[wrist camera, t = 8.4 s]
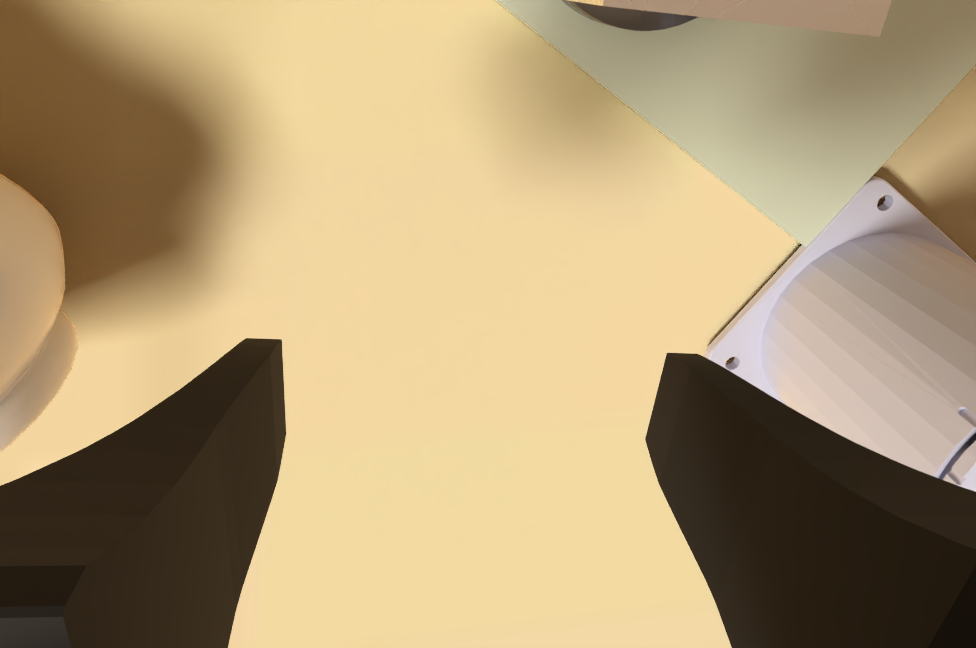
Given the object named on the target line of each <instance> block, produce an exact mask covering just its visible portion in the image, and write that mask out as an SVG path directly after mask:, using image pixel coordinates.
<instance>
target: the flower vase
mask: <svg viewBox="0 0 976 648" xmlns="http://www.w3.org/2000/svg"><path fill="white" fill-rule="evenodd" d="M64 291H65V263H64V250H63V242H62V238H61V234H60V231H59V228H58V226H57V224H56V222H55V220H54V218H53V217H52V216H51V214H50V213H49V212H48V211H47V210H46V209H45V208H44V207H43V206H42V205H41V204H40V203H39V201H38V200H37V199H36V198H35V197H33V196H32V195H31V194H30V193H29V192H27V191H26V190H25V189H24V188H22V187H21V186H19V185H18V184H16V183H15V182H13V181H12V180H10V179H9V178H7V177H6V176H4V175H2V174H1V173H0V452H1V451H3V450H4V449H5V448H7V447H8V446H9V445H10V444H12V443H13V442H14V441H15V440H16V439H17V438H18V437H19V436H20V435H21V434H22V433H23V432H24V431H25V430H26V429H27V428H28V427H29V426H30V425H31V424H32V423H33V422H34V421H35V420H36V419H37V418H38V417H39V416H40V415H41V413H42V412H43V411H44V410H45V408H46V407H47V406H48V405H49V403H50V402H51V401H52V400H53V398H54V397H55V396H56V395H57V394H58V392H59V390H60V388H61V387H62V385H63V383H64V381H65V380H66V378H67V376H68V375H69V373H70V371H71V369H72V365H73V362H74V359H75V356H76V353H77V349H78V343H77V331H76V328H75V327H74V325H73V324H72V322H71V321H70V320H69V318H68V317H67V316H66V314H65V313H64V312H63V311H61V310H59V309H60V307H61V304H62V301H63V296H64Z"/></svg>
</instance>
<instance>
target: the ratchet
mask: <svg viewBox="0 0 976 648" xmlns="http://www.w3.org/2000/svg"><path fill="white" fill-rule="evenodd" d="M562 1H563V2H564V3H565V4H566V5H567V6H569V7H570V8H572V9H573V10H574V11H576V12H577V13H579V14H581V15H583V16H584V17H586V18H588V19H590V20H593V21H596V22H599V23H602V24H605V25H609V26H613V27H617V28H622V29H628V30H633V31H654V30H662V29H667V28H671V27H675V26H679V25H681V24H684V23H686V22H689V21H691V20H693V19H695V18H697V16H688V15H679V14H670V13H661V12H652V11H643V10H634V9H625V8H616V7H607V6H600V5H593V4H587V3H580V2H574V1H567V0H562Z"/></svg>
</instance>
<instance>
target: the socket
mask: <svg viewBox="0 0 976 648" xmlns="http://www.w3.org/2000/svg"><path fill="white" fill-rule="evenodd" d="M567 1H574V2H580V3H587V4H593V5H600V6H607V7H616V8H625V9H634V10H643V11H652V12H661V13H670V14H679V15H688V16H697V17H706V18H715V19H724V20H733V21H742V22H751V23H760V24H769V25H778V26H787V27H796V28H805V29H814V30H822V31H831V32H840V33H849V34H858V35H867V36H876V37H880V34H881V31H882V28H883V25H884V22H885V19H886V16H887V13H888V10H889V7H890V4H891V1H892V0H567Z"/></svg>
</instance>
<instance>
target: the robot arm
mask: <svg viewBox="0 0 976 648" xmlns="http://www.w3.org/2000/svg"><path fill="white" fill-rule="evenodd" d="M883 196H885V201H884V202H883V204H882V205H880V206H879V207H877V203H878V201H879V199H880V198H881V197H883ZM705 356H706V358H705V357H703V356H701V355H698V354H683V353H667V355H666V359H665V363H664V367H663V371H662V375H661V379H660V383H659V387H658V391H657V395H656V399H655V403H654V407H653V411H652V415H651V419H650V423H649V427H648V431H647V435H646V439H645V440H646V443H647V447H648V450H649V454H650V457H651V461H652V464H653V467H654V470H655V473H656V476H657V479H658V482H659V485H660V487H661V489H662V491H663V493H664V495H665V497H666V500H667V502H668V504H669V506H670V508H671V510H672V512H673V514H674V516H675V518H676V520H677V522H678V524H679V527H680V529H681V531H682V533H683V535H684V537H685V539H686V541H687V543H688V545H689V547H690V549H691V551H692V553H693V555H694V557H695V559H696V561H697V563H698V565H699V567H700V569H701V571H702V573H703V575H704V577H705V579H706V582H707V584H708V586H709V588H710V591H711V593H712V595H713V598H714V600H715V602H716V605H717V608H718V610H719V613H720V616H721V619H722V621H723V624H724V627H725V630H726V632H727V635H728V638H729V641H730V644H731V646H732V648H976V262H975V261H974V260H973V259H972V258H971V257H970V256H969V255H968V254H966V253H965V252H964V251H963V250H962V249H961V248H960V247H959V246H958V245H957V244H955V243H954V242H953V241H952V240H951V239H950V238H949V237H948V236H947V235H946V234H944V233H943V232H942V231H941V230H940V229H939V228H938V227H937V226H936V225H934V224H933V223H932V222H931V221H930V220H929V219H928V218H927V217H926V216H925V215H923V214H922V213H921V212H920V211H919V210H918V209H917V208H916V207H915V206H914V205H912V204H911V203H910V202H909V201H908V200H907V199H906V198H905V197H904V196H903V195H901V194H900V193H899V192H898V191H897V190H896V189H895V188H894V187H893V186H892V185H890V184H889V183H888V182H887V181H886V180H884V179H881V178H879V177H877V176H872V177H871V178H870V179H869V180H868V181H867V182H866V183H865V184H864V186H863V187H862V188H861V189H860V190H859V191H858V192H857V193H856V194H855V195H854V196H853V197H852V198H851V200H850V201H849V202H848V203H847V204H846V205H845V206H844V207H843V208H842V209H841V210H840V211H839V212H838V214H837V215H836V216H835V217H834V218H833V219H832V220H831V221H830V222H829V223H828V224H827V225H826V226H825V228H824V229H823V230H822V231H821V232H820V233H819V234H818V235H817V236H816V237H815V238H814V239H813V240H812V242H811V243H810V244H809V245H808V246H807V247H805V246H803V245H801V246H800V248H799V249H798V250H797V251H796V252H795V253H794V254H793V255H792V256H791V257H790V258H789V259H788V260H787V262H786V263H785V264H784V265H783V266H782V267H781V268H780V269H779V270H778V271H777V272H776V273H775V275H774V276H773V277H772V278H771V279H770V280H769V281H768V282H767V283H766V284H765V285H764V286H763V288H762V289H761V290H760V291H759V292H758V293H757V294H756V295H755V296H754V297H753V298H752V299H751V300H750V302H749V303H748V304H747V305H746V306H745V307H744V308H743V309H742V310H741V311H740V312H739V313H738V315H737V316H736V317H735V318H734V319H733V320H732V321H731V322H730V323H729V324H728V325H727V326H726V328H725V329H724V330H723V331H722V332H721V333H720V334H719V335H718V336H717V337H716V338H715V339H714V340H713V342H712V343H711V344H710V345H709V346H708V348H707V349H706V353H705ZM731 357H735V359H734V360H733V361H732V362H731V363H729V364H725V363H726V361H727V360H728V359H729V358H731ZM285 436H286V423H285V402H284V381H283V360H282V340H280V339H251V338H246V339H245V340H243V341H242V342H240V343H239V344H238V345H236V346H235V347H234V348H233V349H231V350H230V351H229V352H228V353H226V354H225V355H224V356H223V357H221V358H220V359H219V360H218V361H216V362H215V363H214V364H213V365H211V366H210V367H209V368H208V369H206V370H205V371H204V372H202V373H201V374H200V375H198V376H197V377H196V378H194V379H193V380H192V381H191V382H189V383H188V384H187V385H185V386H184V387H183V388H181V389H180V390H178V391H177V392H175V393H174V394H173V395H171V396H170V397H168V398H167V399H165V400H164V401H162V402H161V403H159V404H158V405H156V406H155V407H153V408H152V409H150V410H149V411H147V412H146V413H145V414H143V415H142V416H140V417H139V418H137V419H135V420H134V421H132V422H130V423H129V424H127V425H125V426H124V427H122V428H120V429H119V430H117V431H115V432H113V433H112V434H110V435H108V436H106V437H104V438H102V439H101V440H99V441H97V442H95V443H93V444H91V445H90V446H88V447H86V448H84V449H82V450H80V451H78V452H76V453H74V454H72V455H69V456H67V457H65V458H63V459H61V460H58V461H56V462H54V463H52V464H50V465H47V466H45V467H43V468H41V469H39V470H36V471H34V472H32V473H30V474H28V475H25V476H23V477H21V478H19V479H16V480H14V481H12V482H9V483H7V484H4V485H1V486H0V648H228V644H229V639H230V634H231V630H232V625H233V621H234V616H235V612H236V608H237V604H238V601H239V597H240V594H241V590H242V587H243V584H244V581H245V578H246V575H247V572H248V569H249V566H250V563H251V560H252V557H253V554H254V551H255V548H256V545H257V542H258V539H259V536H260V533H261V530H262V527H263V524H264V521H265V517H266V514H267V511H268V508H269V505H270V502H271V499H272V496H273V493H274V490H275V487H276V483H277V480H278V475H279V470H280V464H281V459H282V453H283V448H284V442H285Z"/></svg>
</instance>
